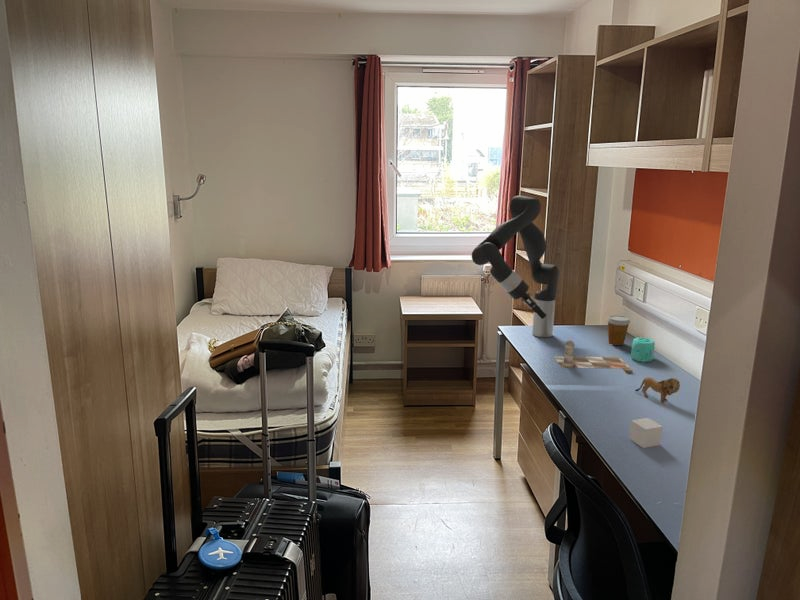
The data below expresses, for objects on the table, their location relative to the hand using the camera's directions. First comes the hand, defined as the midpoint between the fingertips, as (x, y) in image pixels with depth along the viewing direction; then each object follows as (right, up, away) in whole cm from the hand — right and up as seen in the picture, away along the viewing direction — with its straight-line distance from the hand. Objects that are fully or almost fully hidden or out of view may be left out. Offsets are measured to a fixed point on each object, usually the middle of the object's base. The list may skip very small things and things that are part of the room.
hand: (541, 314), depth 225 cm
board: (+21, -21, +8) cm, 31 cm away
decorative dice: (+45, -19, +17) cm, 52 cm away
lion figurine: (+35, -29, -22) cm, 50 cm away
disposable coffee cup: (+41, -14, +35) cm, 56 cm away
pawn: (+11, -20, +5) cm, 24 cm away
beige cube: (+18, -36, -53) cm, 66 cm away
